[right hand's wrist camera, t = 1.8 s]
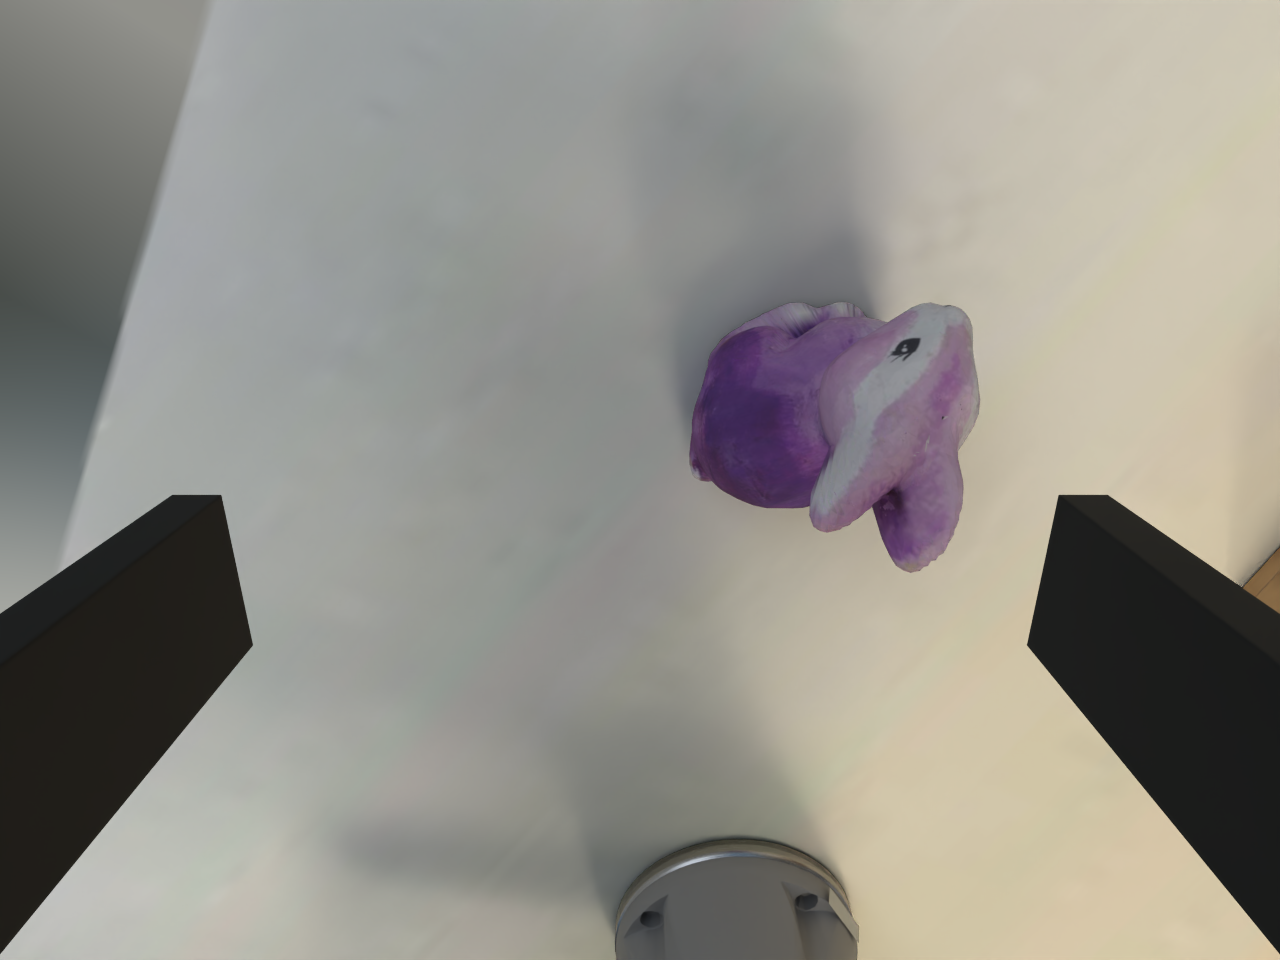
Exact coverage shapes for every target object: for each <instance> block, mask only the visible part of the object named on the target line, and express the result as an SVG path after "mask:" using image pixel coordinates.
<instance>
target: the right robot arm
mask: <svg viewBox="0 0 1280 960" xmlns="http://www.w3.org/2000/svg"><path fill="white" fill-rule="evenodd" d="M252 646H253V643H252V638H251V634H250V629H249V624H248V619H247V615H246V610H245V605H244V601H243V596H242V591H241V586H240V582H239V577H238V572H237V567H236V563H235V558H234V553H233V548H232V544H231V539H230V534H229V529H228V525H227V520H226V515H225V510H224V506H223V501H222V496H221V495H172V496H170V497H169V498H167V499H166V500H164V501H163V502H162V503H160V504H159V505H157V506H156V507H154V508H153V509H151V510H150V511H148V512H147V513H146V514H144V515H143V516H141V517H140V518H138V519H137V520H135V521H134V522H133V523H131V524H130V525H128V526H127V527H125V528H124V529H122V530H121V531H119V532H118V533H117V534H115V535H114V536H112V537H111V538H109V539H108V540H106V541H105V542H104V543H102V544H101V545H99V546H98V547H96V548H95V549H93V550H92V551H91V552H89V553H88V554H86V555H85V556H83V557H82V558H80V559H79V560H77V561H76V562H75V563H73V564H72V565H70V566H69V567H67V568H66V569H64V570H63V571H62V572H60V573H59V574H57V575H56V576H54V577H53V578H51V579H50V580H48V581H47V582H46V583H44V584H43V585H41V586H40V587H38V588H37V589H35V590H34V591H33V592H31V593H30V594H28V595H27V596H25V597H24V598H22V599H21V600H19V601H18V602H17V603H15V604H14V605H12V606H11V607H9V608H8V609H6V610H5V611H4V612H2V613H1V614H0V954H1V952H2V951H3V950H4V949H5V948H6V946H7V945H8V944H9V943H10V941H11V940H12V939H13V938H14V937H15V935H16V934H17V933H18V932H19V930H20V929H21V928H22V927H23V926H24V924H25V923H26V922H27V921H28V919H29V918H30V917H31V916H32V915H33V913H34V912H35V911H36V910H37V908H38V907H39V906H40V905H41V904H42V902H43V901H44V900H45V899H46V897H47V896H48V895H49V894H50V893H51V891H52V890H53V889H54V888H55V886H56V885H57V884H58V883H59V882H60V880H61V879H62V878H63V877H64V875H65V874H66V873H67V872H68V871H69V869H70V868H71V867H72V866H73V864H74V863H75V862H76V861H77V860H78V858H79V857H80V856H81V855H82V853H83V852H84V851H85V850H86V849H87V847H88V846H89V845H90V844H91V842H92V841H93V840H94V839H95V838H96V836H97V835H98V834H99V833H100V831H101V830H102V829H103V828H104V827H105V825H106V824H107V823H108V822H109V821H110V819H111V818H112V817H113V816H114V814H115V813H116V812H117V811H118V810H119V808H120V807H121V806H122V805H123V803H124V802H125V801H126V800H127V799H128V797H129V796H130V795H131V794H132V792H133V791H134V790H135V789H136V788H137V786H138V785H139V784H140V783H141V781H142V780H143V779H144V778H145V777H146V775H147V774H148V773H149V772H150V770H151V769H152V768H153V767H154V766H155V764H156V763H157V762H158V761H159V759H160V758H161V757H162V756H163V755H164V753H165V752H166V751H167V750H168V748H169V747H170V746H171V745H172V744H173V742H174V741H175V740H176V739H177V737H178V736H179V735H180V734H181V733H182V731H183V730H184V729H185V728H186V726H187V725H188V724H189V723H190V722H191V720H192V719H193V718H194V717H195V715H196V714H197V713H198V712H199V711H200V709H201V708H202V707H203V706H204V704H205V703H206V702H207V701H208V700H209V698H210V697H211V696H212V695H213V693H214V692H215V691H216V690H217V689H218V687H219V686H220V685H221V684H222V682H223V681H224V680H225V679H226V678H227V676H228V675H229V674H230V673H231V671H232V670H233V669H234V668H235V667H236V665H237V664H238V663H239V662H240V660H241V659H242V658H243V657H244V656H245V654H246V653H247V652H248V651H249V649H250V648H251V647H252ZM1027 646H1028V647H1029V648H1030V649H1031V651H1032V652H1033V653H1034V654H1035V656H1036V657H1037V658H1038V659H1039V660H1040V662H1041V663H1042V664H1043V665H1044V667H1045V668H1046V669H1047V670H1048V671H1049V673H1050V674H1051V675H1052V676H1053V678H1054V679H1055V680H1056V681H1057V682H1058V684H1059V685H1060V686H1061V687H1062V689H1063V690H1064V691H1065V692H1066V693H1067V695H1068V696H1069V697H1070V698H1071V700H1072V701H1073V702H1074V703H1075V704H1076V706H1077V707H1078V708H1079V709H1080V711H1081V712H1082V713H1083V714H1084V715H1085V717H1086V718H1087V719H1088V720H1089V722H1090V723H1091V724H1092V725H1093V726H1094V728H1095V729H1096V730H1097V731H1098V733H1099V734H1100V735H1101V736H1102V737H1103V739H1104V740H1105V741H1106V742H1107V744H1108V745H1109V746H1110V747H1111V748H1112V750H1113V751H1114V752H1115V753H1116V755H1117V756H1118V757H1119V758H1120V759H1121V761H1122V762H1123V763H1124V764H1125V766H1126V767H1127V768H1128V769H1129V770H1130V772H1131V773H1132V774H1133V775H1134V777H1135V778H1136V779H1137V780H1138V781H1139V783H1140V784H1141V785H1142V786H1143V788H1144V789H1145V790H1146V791H1147V792H1148V794H1149V795H1150V796H1151V797H1152V799H1153V800H1154V801H1155V802H1156V803H1157V805H1158V806H1159V807H1160V808H1161V810H1162V811H1163V812H1164V813H1165V814H1166V816H1167V817H1168V818H1169V819H1170V821H1171V822H1172V823H1173V824H1174V825H1175V827H1176V828H1177V829H1178V830H1179V832H1180V833H1181V834H1182V835H1183V836H1184V838H1185V839H1186V840H1187V841H1188V842H1189V844H1190V845H1191V846H1192V847H1193V849H1194V850H1195V851H1196V852H1197V853H1198V855H1199V856H1200V857H1201V858H1202V860H1203V861H1204V862H1205V863H1206V864H1207V866H1208V867H1209V868H1210V869H1211V871H1212V872H1213V873H1214V874H1215V875H1216V877H1217V878H1218V879H1219V880H1220V882H1221V883H1222V884H1223V885H1224V886H1225V888H1226V889H1227V890H1228V891H1229V893H1230V894H1231V895H1232V896H1233V897H1234V899H1235V900H1236V901H1237V902H1238V904H1239V905H1240V906H1241V907H1242V908H1243V910H1244V911H1245V912H1246V913H1247V915H1248V916H1249V917H1250V918H1251V919H1252V921H1253V922H1254V923H1255V924H1256V926H1257V927H1258V928H1259V929H1260V930H1261V932H1262V933H1263V934H1264V935H1265V937H1266V938H1267V939H1268V940H1269V941H1270V943H1271V944H1272V945H1273V946H1274V948H1275V949H1276V950H1277V951H1278V952H1279V954H1280V614H1279V613H1278V612H1276V611H1275V610H1274V609H1272V608H1271V607H1269V606H1268V605H1266V604H1265V603H1263V602H1262V601H1261V600H1259V599H1258V598H1256V597H1255V596H1253V595H1252V594H1250V593H1249V592H1247V591H1246V590H1245V589H1243V588H1242V587H1240V586H1239V585H1237V584H1236V583H1234V582H1233V581H1232V580H1230V579H1229V578H1227V577H1226V576H1224V575H1223V574H1221V573H1220V572H1218V571H1217V570H1216V569H1214V568H1213V567H1211V566H1210V565H1208V564H1207V563H1205V562H1204V561H1203V560H1201V559H1200V558H1198V557H1197V556H1195V555H1194V554H1192V553H1191V552H1189V551H1188V550H1187V549H1185V548H1184V547H1182V546H1181V545H1179V544H1178V543H1176V542H1175V541H1174V540H1172V539H1171V538H1169V537H1168V536H1166V535H1165V534H1163V533H1162V532H1161V531H1159V530H1158V529H1156V528H1155V527H1153V526H1152V525H1150V524H1149V523H1147V522H1146V521H1145V520H1143V519H1142V518H1140V517H1139V516H1137V515H1136V514H1134V513H1133V512H1132V511H1130V510H1129V509H1127V508H1126V507H1124V506H1123V505H1121V504H1120V503H1118V502H1117V501H1116V500H1114V499H1113V498H1111V497H1110V496H1108V495H1059V496H1058V501H1057V506H1056V510H1055V515H1054V520H1053V525H1052V529H1051V534H1050V539H1049V544H1048V548H1047V553H1046V558H1045V563H1044V567H1043V572H1042V577H1041V582H1040V586H1039V591H1038V596H1037V601H1036V605H1035V610H1034V615H1033V619H1032V624H1031V629H1030V634H1029V638H1028V643H1027ZM857 942H858V943H859V926H858V924H857V923H856V921H855V920H854V919H853V917H852V913H851V910H850V906H849V903H848V900H847V897H846V895H845V893H844V890H843V889H842V887H841V886H840V884H839V883H838V881H837V880H836V879H835V878H834V876H833V875H832V874H831V873H830V872H829V871H828V870H827V869H826V868H824V867H823V866H822V865H821V864H819V863H818V862H816V861H815V860H813V859H812V858H810V857H808V856H806V855H805V854H803V853H801V852H798V851H796V850H793V849H791V848H788V847H785V846H782V845H779V844H774V843H770V842H764V841H757V840H745V839H730V840H719V841H712V842H706V843H702V844H698V845H694V846H691V847H688V848H684V849H682V850H679V851H677V852H674V853H672V854H670V855H668V856H666V857H664V858H662V859H661V860H659V861H658V862H656V863H654V864H653V865H652V866H650V867H649V868H648V869H646V870H645V871H644V872H643V873H642V874H641V875H640V876H639V877H638V878H637V879H636V880H635V881H634V882H633V883H632V884H631V886H630V887H629V889H628V890H627V891H626V893H625V895H624V897H623V899H622V900H621V903H620V906H619V908H618V912H617V916H616V927H615V952H616V960H857Z"/></svg>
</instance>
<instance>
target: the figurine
mask: <svg viewBox="0 0 1280 960" xmlns="http://www.w3.org/2000/svg"><path fill="white" fill-rule="evenodd" d="M979 406H980V395H979V387H978V378H977V373H976V368H975V363H974V356H973V329H972V325H971V322H970V319H969V317H968V316H967V314H966V313H965V312H964V311H963V310H962V309H960V308H958V307H955V306H951V305H945V306H942V305H938V304H934V303H925V304H920V305H917V306H915V307H912V308H910V309H909V310H907V311H906V312H904V313H902V314H901V315H899V316H898V317H896V318H894V319H893V320H891V321H890V322H888V323H886V322H883V321H881V320H878V319H872V318H867V316H865V315H864V313H863V312H862V311H861V309H859V308H858V307H855V306H854V304H851V303H846V302H837V303H833V304H830V305H826V306H823V307H820V308H815V307H812V306H810V305H808V304H806V303H787V304H785V305H782V306H780V307H777V308H775V309H773V310H771V311H769V312H766V313H763V314H762V315H761V316H759V317H757V318H755V319H752V320H750V321H748V322H746V323H744V324H743V325H742V326H741V327H739V328H737V329H735V330H734V331H732V332H730V333H729V334H728V335H726V336H725V337H724V338H722V339H721V340H720V342H719V344H718V345H717V346H716V347H715V349H714V350H713V351H712V353H711V355H710V357H709V360H708V367H707V370H706V374H705V378H704V382H703V385H702V389H701V391H700V394H699V397H698V399H697V402H696V405H695V409H694V412H693V419H692V436H691V443H690V454H689V457H690V467H691V471H692V474H693V476H694V477H695V478H697V479H699V480H701V481H707V482H708V481H713V482H714V484H715V485H717V486H718V487H719V488H720V489H721V490H723V491H724V492H726V493H728V494H730V495H732V496H733V497H735V498H737V499H740V500H742V501H744V502H747V503H749V504H752V505H755V506H759V507H764V508H804V507H808V506H810V513H809V516H810V518H811V521H812V524H813V526H814V527H815V528H817V529H818V530H820V531H823V532H831V531H835V530H840V529H841V528H842V527H845V526H848V525H850V524H851V522H852V521H854V520H856V519H858V518H859V517H860V516H861V515H862V514H863V513H864V512H865V511H867V510H868V509H870V508H871V507H872V508H873V511H874V514H875V517H876V520H877V524H878V527H879V530H880V534H881V537H882V540H883V542H884V544H885V546H886V548H887V551H888V553H889V555H890V557H891V558H892V560H893V562H894V563H895V565H896V566H897V567H899V568H901V569H902V570H904V571H907V572H910V573H912V572H915V571H920V570H921V569H922V568H923V567H925V566H928V565H929V563H930V562H931V561H933V560H936V559H937V557H938V556H939V555H941V554H943V553H944V551H945V550H946V547H947V545H948V543H949V541H950V540H951V538H952V537H953V535H954V530H955V528H956V526H957V523H958V520H959V514H960V511H961V509H962V501H963V479H962V475H961V470H960V466H959V462H958V450H959V449H960V447H961V446H962V444H963V443H964V441H965V439H966V438H967V436H968V435H969V433H970V432H971V430H972V428H973V427H974V424H975V422H976V419H977V416H978V414H979Z"/></svg>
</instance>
